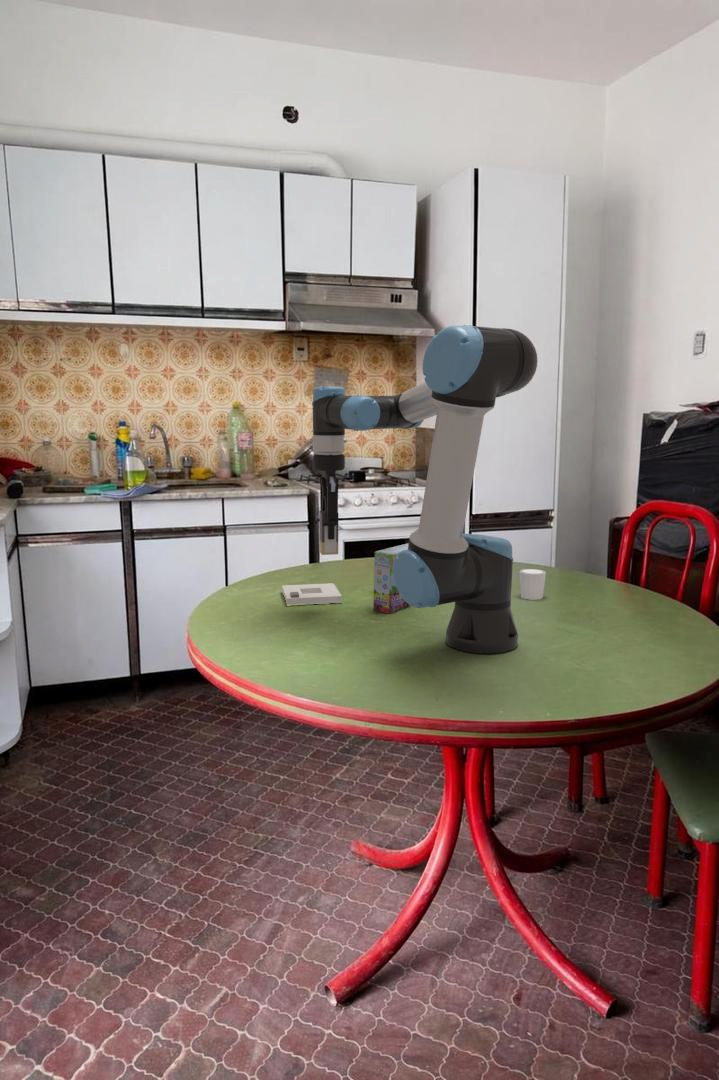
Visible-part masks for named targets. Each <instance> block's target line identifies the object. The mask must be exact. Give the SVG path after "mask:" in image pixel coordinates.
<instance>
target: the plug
mask: <svg viewBox="0 0 719 1080" xmlns="http://www.w3.org/2000/svg"><path fill="white" fill-rule="evenodd" d="M318 512H319V516H318V517H319V519H318V520H319V526H318V527H319V530H318V531H319V548H318V550H319V553H320V554H321V556H327V555H331V556H332V555H333V556H334V555H339V523H338V524H336V552H333V553H325V526H323V525H322V524H323V523H325V522H326V521H325V511H320V510H319V511H318Z"/></svg>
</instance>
